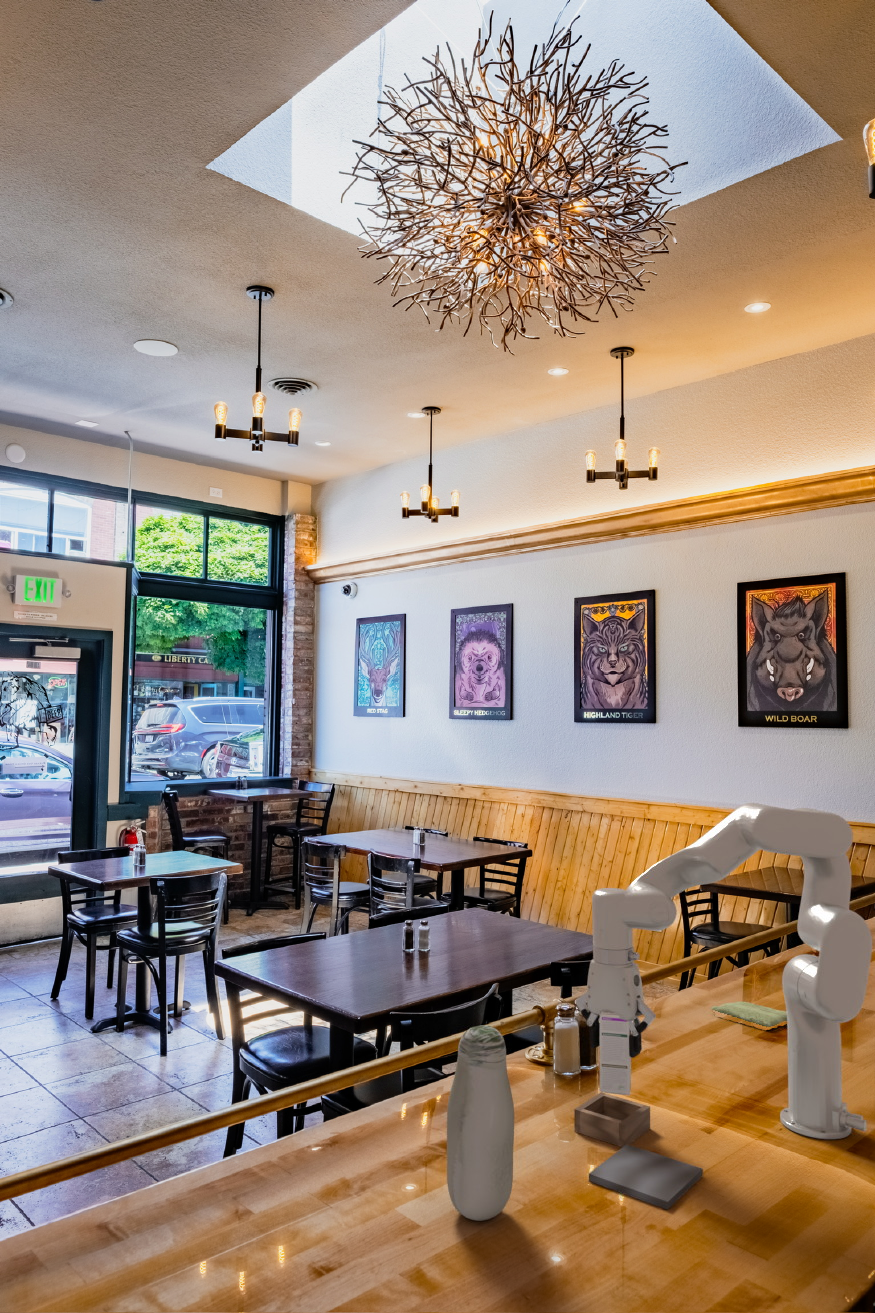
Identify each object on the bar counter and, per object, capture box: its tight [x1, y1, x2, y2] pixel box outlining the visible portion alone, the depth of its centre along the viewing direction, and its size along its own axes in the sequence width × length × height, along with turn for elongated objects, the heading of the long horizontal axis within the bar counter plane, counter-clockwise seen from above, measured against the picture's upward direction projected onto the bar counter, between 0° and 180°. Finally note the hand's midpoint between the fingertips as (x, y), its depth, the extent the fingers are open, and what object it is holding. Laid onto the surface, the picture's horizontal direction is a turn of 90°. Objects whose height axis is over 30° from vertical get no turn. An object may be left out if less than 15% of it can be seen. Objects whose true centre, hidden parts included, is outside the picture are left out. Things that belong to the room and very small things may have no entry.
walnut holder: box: [573, 1092, 651, 1148], centre depth 170 cm, size 10×10×4 cm
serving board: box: [588, 1144, 704, 1210], centre depth 152 cm, size 14×14×1 cm
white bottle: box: [446, 1024, 515, 1222], centre depth 141 cm, size 10×10×28 cm
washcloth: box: [710, 1001, 787, 1027], centre depth 236 cm, size 13×18×3 cm
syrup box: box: [598, 1012, 632, 1096], centre depth 171 cm, size 6×6×14 cm
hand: (615, 1050), depth 171 cm, fingers closed on syrup box, 7 cm apart
